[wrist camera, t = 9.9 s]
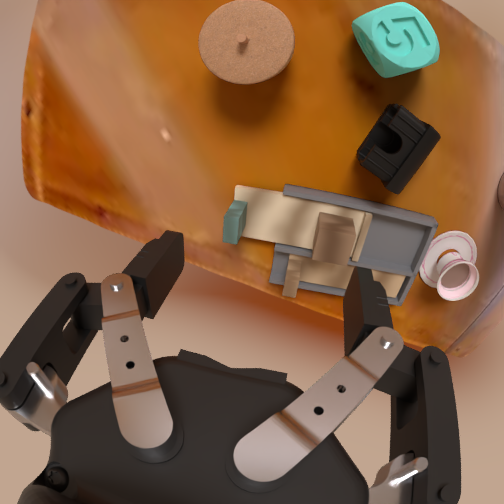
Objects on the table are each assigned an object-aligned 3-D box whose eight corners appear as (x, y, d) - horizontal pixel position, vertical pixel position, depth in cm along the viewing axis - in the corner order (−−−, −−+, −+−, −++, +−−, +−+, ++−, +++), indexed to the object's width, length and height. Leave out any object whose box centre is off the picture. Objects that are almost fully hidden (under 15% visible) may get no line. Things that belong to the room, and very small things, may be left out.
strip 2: (404, 272, 45) (413, 297, 40) (394, 294, 48) (400, 320, 43) (290, 250, 47) (286, 274, 42) (285, 274, 50) (281, 300, 45)
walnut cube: (352, 218, 41) (356, 235, 37) (344, 247, 44) (346, 266, 40) (319, 211, 42) (319, 228, 38) (312, 241, 44) (312, 259, 40)
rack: (433, 216, 40) (438, 224, 38) (398, 296, 49) (400, 306, 47) (285, 183, 42) (283, 189, 40) (271, 273, 52) (269, 282, 50)
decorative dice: (425, 61, 28) (448, 59, 21) (377, 78, 31) (392, 78, 25) (397, 10, 25) (415, -3, 18) (347, 27, 28) (355, 15, 22)
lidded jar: (310, 68, 32) (309, 64, 25) (236, 94, 36) (215, 99, 29) (279, 1, 28) (268, -19, 20) (207, 31, 32) (178, 21, 24)
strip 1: (370, 209, 41) (377, 231, 35) (356, 254, 45) (360, 279, 40) (236, 184, 43) (224, 202, 38) (233, 231, 48) (222, 253, 42)
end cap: (391, 183, 39) (403, 201, 33) (353, 155, 38) (359, 169, 32) (429, 130, 33) (448, 141, 28) (391, 99, 32) (405, 104, 27)
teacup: (405, 274, 47) (413, 298, 42) (441, 218, 40) (455, 238, 35) (451, 293, 47) (461, 316, 42) (486, 244, 40) (501, 265, 35)
